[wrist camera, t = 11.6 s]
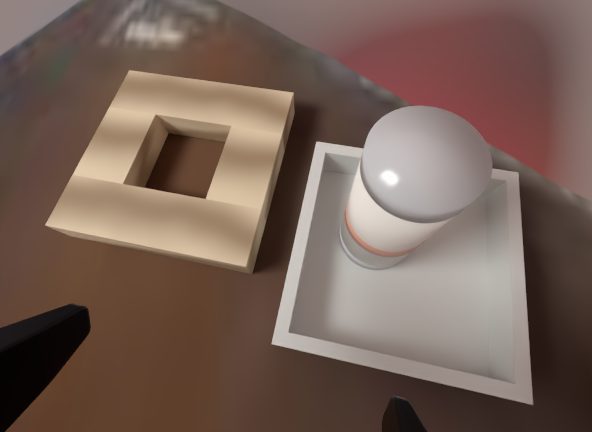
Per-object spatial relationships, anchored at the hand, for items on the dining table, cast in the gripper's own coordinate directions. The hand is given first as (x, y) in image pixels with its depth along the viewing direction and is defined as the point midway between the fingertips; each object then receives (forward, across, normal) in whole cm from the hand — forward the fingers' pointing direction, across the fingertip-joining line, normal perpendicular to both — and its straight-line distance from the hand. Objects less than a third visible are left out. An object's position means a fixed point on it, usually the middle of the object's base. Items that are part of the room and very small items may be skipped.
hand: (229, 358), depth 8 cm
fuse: (+15, -5, +2) cm, 16 cm away
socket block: (+17, +11, +1) cm, 20 cm away
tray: (+14, -7, +3) cm, 16 cm away
